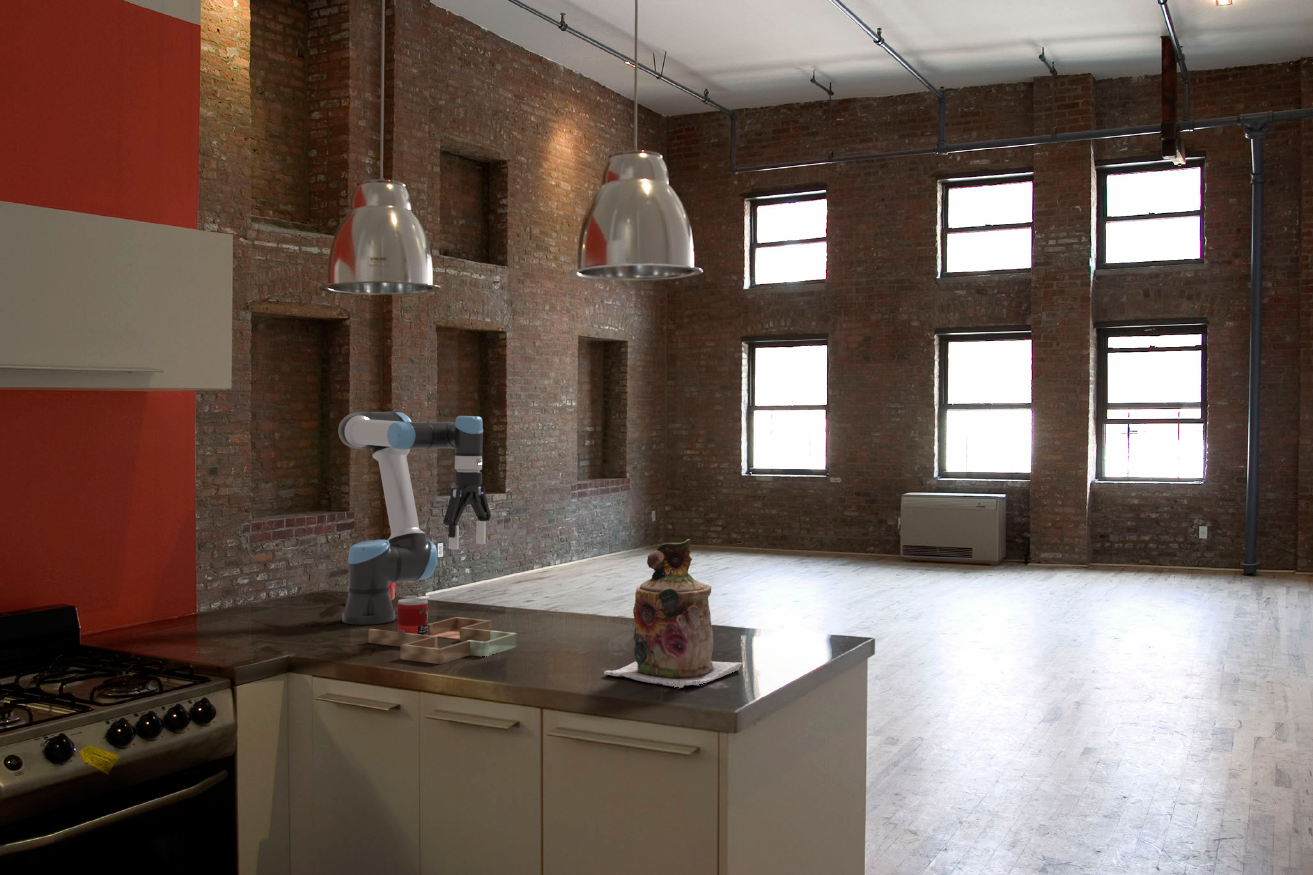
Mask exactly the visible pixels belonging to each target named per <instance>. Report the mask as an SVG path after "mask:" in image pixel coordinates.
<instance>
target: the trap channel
mask: <svg viewBox="0 0 1313 875" xmlns="http://www.w3.org/2000/svg"><path fill="white" fill-rule="evenodd" d="M492 626H493V620H488V619H478V618H470V617H462V616H461V617H459V616H454V617H450V618H447V619H442V620H439V621H435V622H430V623H428V635H421V634H413V633H404V632H398V631H393V630H385V629H375V628H369V629H368V633H367V634H368V637H367V638H368V644H369V643H370V644H376V645H377V644H378V645H385V646H394V647H400V654H399V655H400V660H404V661H410V662H411V661H412V662H413V661H414V662H421V663H428V664H436V665H437V664H438V665H443V664H446V663H449V662H452V661H455V660H458V659H459V660H460V659H461V658H462V659H463V658H465V656H466V657H468V656H476V657H482V656H485V658H487V657H490V656H493V655H492V654H494V655H496V653H497V654H500V653H502V652H505V651H508V650H512V649H515V648H518V647H519V633H517V632H508V631H499V630H493V627H492ZM439 638H441V639H447V640H457V641H458V640H459V642H458V643H455V644H451V645H447V646H443V647H441V648H439V646H438V644H439V643H438V640H439ZM486 656H487V657H486Z"/></svg>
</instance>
